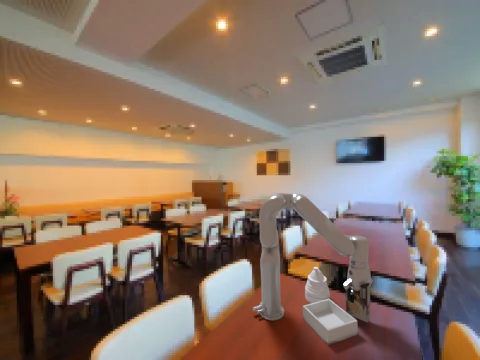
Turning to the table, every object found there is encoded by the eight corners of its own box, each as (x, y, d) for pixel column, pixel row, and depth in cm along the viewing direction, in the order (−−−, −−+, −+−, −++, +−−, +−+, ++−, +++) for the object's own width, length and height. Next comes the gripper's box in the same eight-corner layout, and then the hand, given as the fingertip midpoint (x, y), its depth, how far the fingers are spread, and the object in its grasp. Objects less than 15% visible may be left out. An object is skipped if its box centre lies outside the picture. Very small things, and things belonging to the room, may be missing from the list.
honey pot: (328, 308, 103) (327, 274, 103) (302, 301, 110) (301, 268, 110) (331, 295, 114) (330, 264, 114) (308, 289, 121) (307, 259, 121)
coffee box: (370, 315, 94) (371, 281, 93) (367, 323, 89) (368, 287, 89) (349, 306, 100) (349, 275, 100) (345, 313, 95) (345, 280, 95)
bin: (328, 345, 81) (328, 330, 81) (303, 318, 97) (302, 305, 97) (357, 334, 86) (357, 320, 86) (329, 310, 102) (328, 298, 102)
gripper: (351, 269, 88) (350, 308, 88) (380, 263, 93) (379, 300, 94) (337, 262, 95) (337, 298, 95) (365, 257, 100) (364, 291, 101)
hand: (358, 299), depth 94 cm, fingers closed on coffee box, 8 cm apart
